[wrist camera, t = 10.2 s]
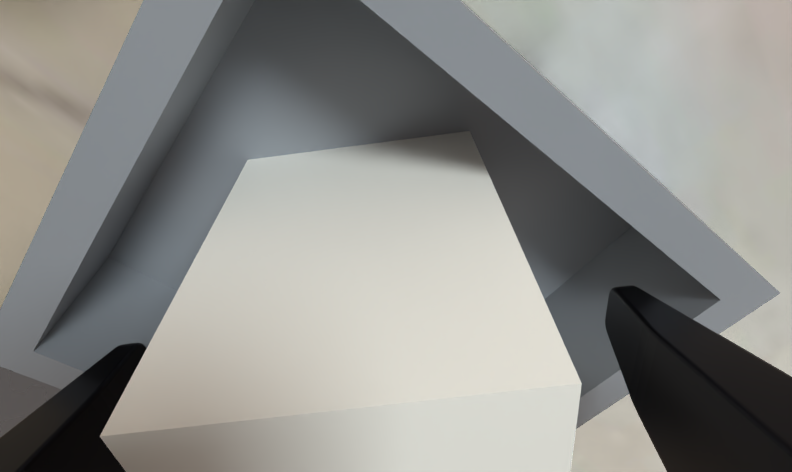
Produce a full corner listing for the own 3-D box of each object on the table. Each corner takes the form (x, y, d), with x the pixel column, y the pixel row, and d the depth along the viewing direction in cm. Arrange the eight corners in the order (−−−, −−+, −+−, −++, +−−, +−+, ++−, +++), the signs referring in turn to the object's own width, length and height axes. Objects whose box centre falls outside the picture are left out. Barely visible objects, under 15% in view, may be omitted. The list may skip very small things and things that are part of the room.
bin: (417, 408, 17) (427, 527, 14) (80, 244, 13) (-22, 358, 10) (673, 195, 13) (780, 293, 9) (291, -155, 9) (237, -203, 5)
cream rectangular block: (476, 302, 13) (554, 596, 8) (299, 323, 14) (241, 625, 8) (469, 130, 11) (582, 383, 5) (247, 159, 11) (98, 436, 5)
